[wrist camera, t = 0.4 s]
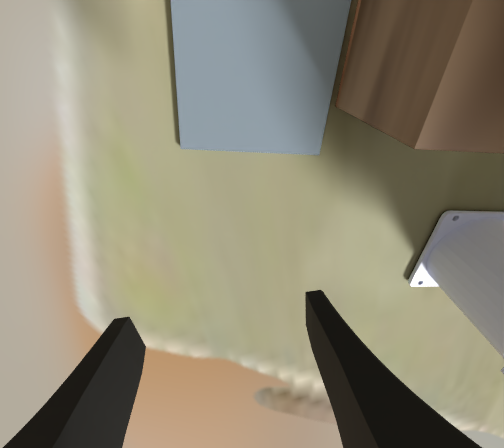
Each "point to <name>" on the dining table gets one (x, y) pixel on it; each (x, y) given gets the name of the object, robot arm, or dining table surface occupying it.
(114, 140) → the dining table surface
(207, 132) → the mat
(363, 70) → the brown wooden block
